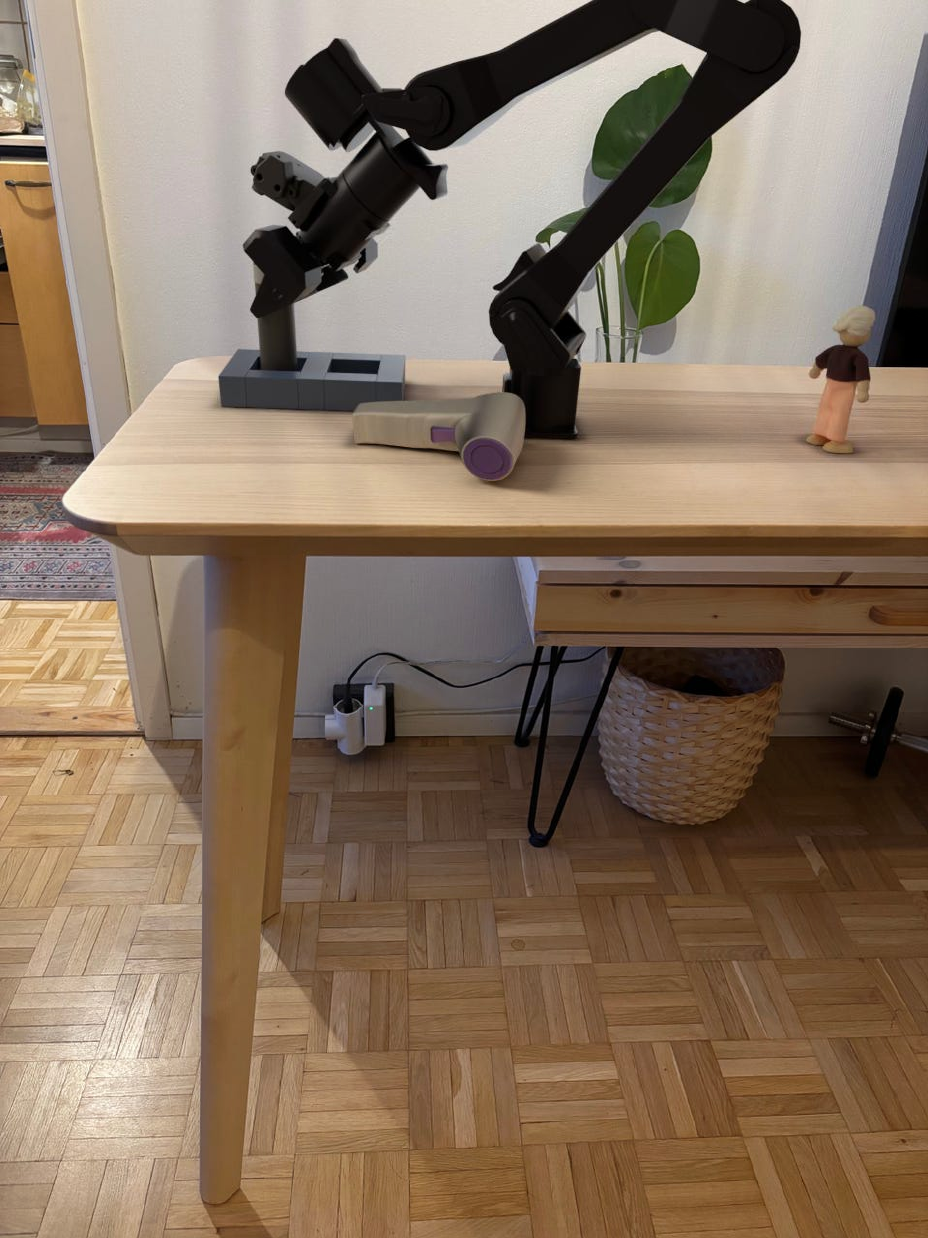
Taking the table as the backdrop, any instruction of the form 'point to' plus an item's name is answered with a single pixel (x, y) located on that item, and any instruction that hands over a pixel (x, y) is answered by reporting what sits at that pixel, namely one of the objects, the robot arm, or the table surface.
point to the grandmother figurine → (842, 379)
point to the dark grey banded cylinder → (276, 335)
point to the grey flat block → (313, 381)
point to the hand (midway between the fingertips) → (263, 309)
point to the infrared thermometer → (451, 429)
